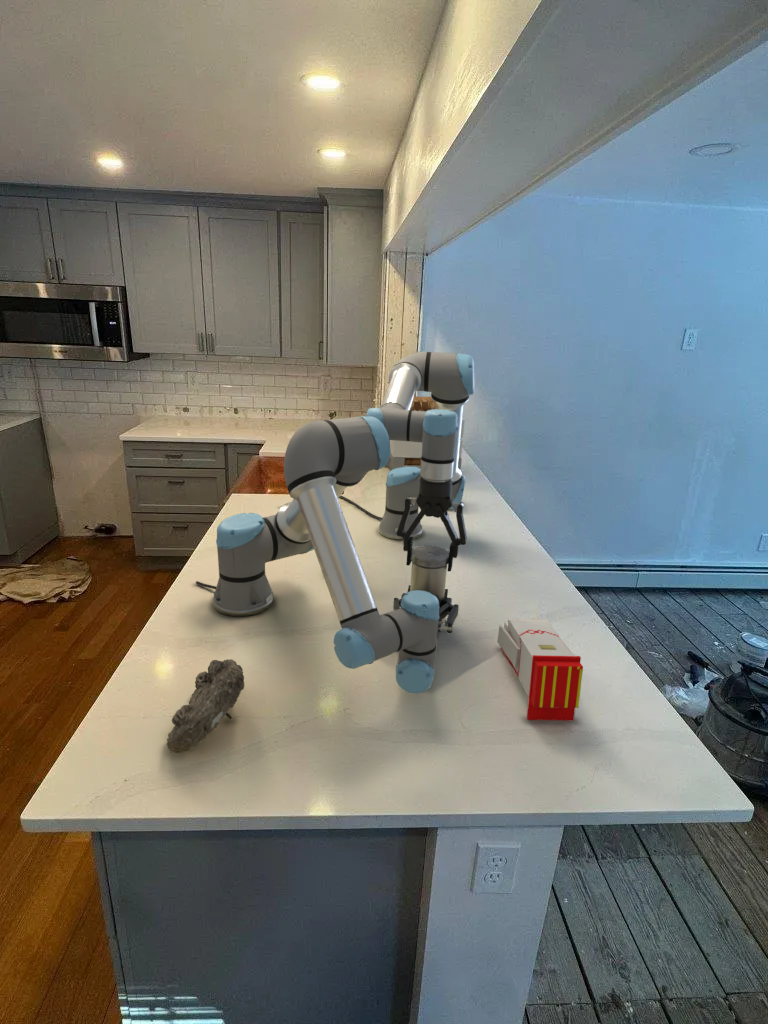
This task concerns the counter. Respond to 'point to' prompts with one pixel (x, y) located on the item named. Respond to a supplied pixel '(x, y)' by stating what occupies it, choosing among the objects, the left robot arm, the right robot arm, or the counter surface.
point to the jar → (429, 581)
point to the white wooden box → (412, 451)
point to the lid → (429, 556)
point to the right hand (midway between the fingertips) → (429, 566)
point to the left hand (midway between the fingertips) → (428, 591)
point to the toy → (542, 668)
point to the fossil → (206, 705)
